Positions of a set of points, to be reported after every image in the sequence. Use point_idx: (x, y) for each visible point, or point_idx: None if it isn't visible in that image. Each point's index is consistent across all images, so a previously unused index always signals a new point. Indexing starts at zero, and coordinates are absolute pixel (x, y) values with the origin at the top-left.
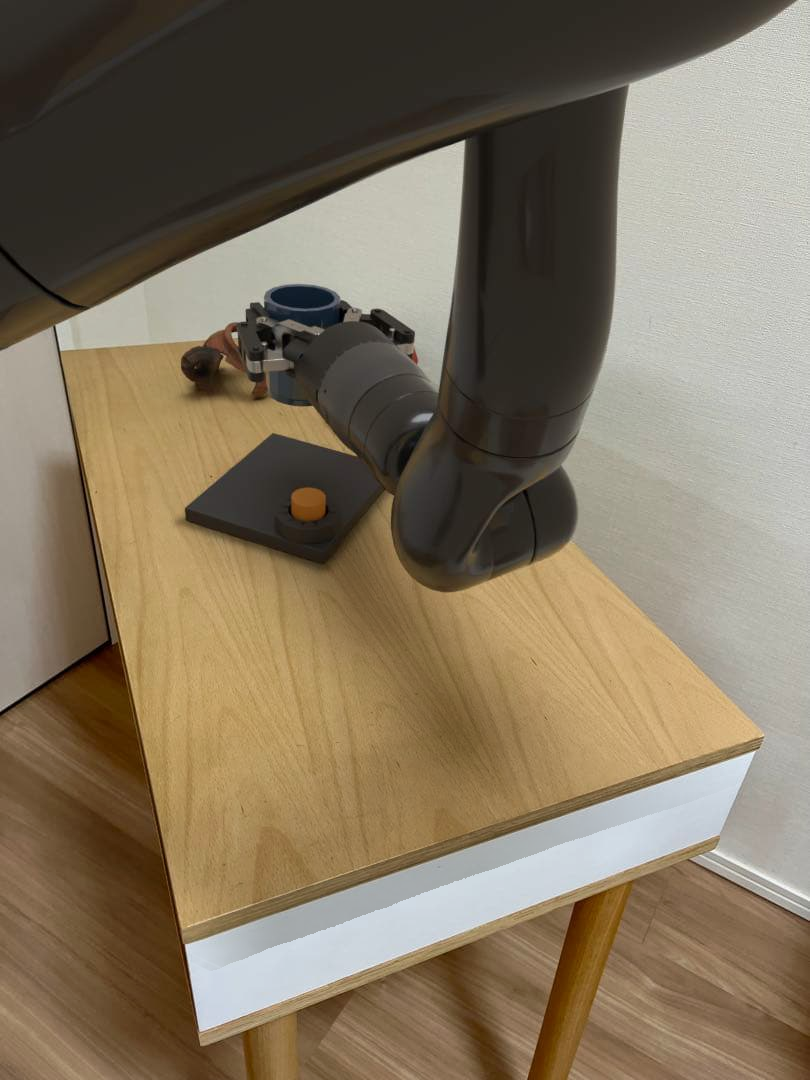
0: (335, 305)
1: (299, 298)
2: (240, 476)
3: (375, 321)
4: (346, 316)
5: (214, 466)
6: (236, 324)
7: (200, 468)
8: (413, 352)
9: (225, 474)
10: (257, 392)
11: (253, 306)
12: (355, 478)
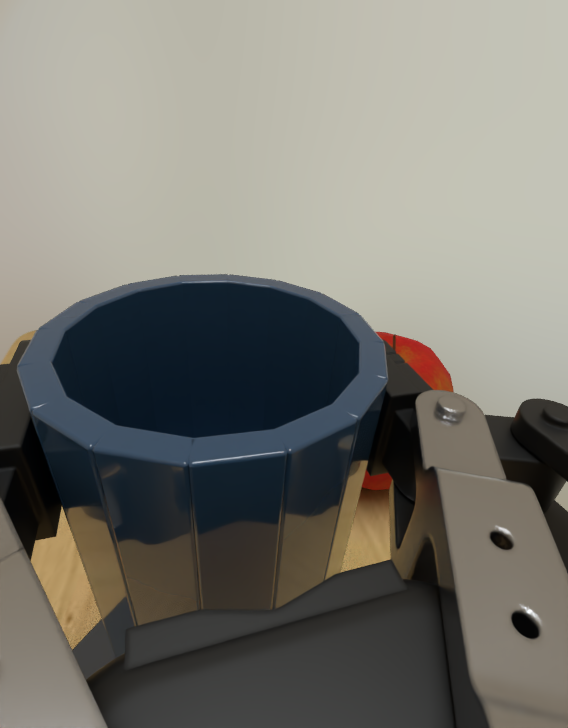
0: (372, 404)
1: (227, 322)
2: (103, 661)
3: (546, 468)
4: (457, 516)
5: (88, 582)
6: None
7: (61, 587)
8: (452, 391)
9: (76, 649)
10: None
11: (13, 361)
12: None
